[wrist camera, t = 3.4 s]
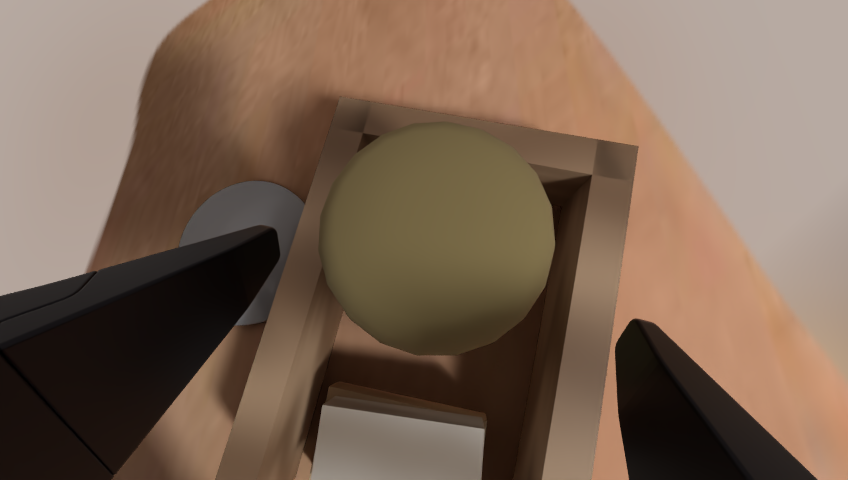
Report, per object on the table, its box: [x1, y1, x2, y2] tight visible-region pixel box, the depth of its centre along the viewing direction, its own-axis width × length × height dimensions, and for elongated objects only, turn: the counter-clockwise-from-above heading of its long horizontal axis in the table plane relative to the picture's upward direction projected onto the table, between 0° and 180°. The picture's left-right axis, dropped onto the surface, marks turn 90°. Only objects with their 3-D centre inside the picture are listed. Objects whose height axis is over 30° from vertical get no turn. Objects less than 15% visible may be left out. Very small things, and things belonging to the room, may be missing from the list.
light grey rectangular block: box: [309, 381, 487, 480], centre depth 14 cm, size 4×7×3 cm, turn 80°
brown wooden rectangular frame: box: [215, 97, 638, 480], centre depth 15 cm, size 17×12×4 cm
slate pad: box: [179, 181, 305, 325], centre depth 18 cm, size 8×8×1 cm
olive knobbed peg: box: [318, 121, 555, 355], centre depth 12 cm, size 6×6×11 cm
